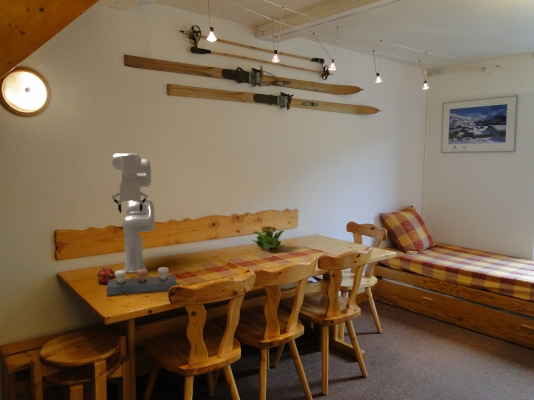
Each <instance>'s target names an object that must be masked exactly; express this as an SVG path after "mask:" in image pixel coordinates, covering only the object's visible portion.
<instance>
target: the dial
mask: <svg viewBox="0 0 534 400" xmlns="http://www.w3.org/2000/svg"><path fill="white" fill-rule="evenodd" d="M148 273H149V272H148V269H147V268H146V269H138V270H137V272H136V276H138V278H139V282H146V277H147V276H146V275H148Z"/></svg>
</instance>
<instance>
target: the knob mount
mask: <svg viewBox="0 0 534 400" xmlns="http://www.w3.org/2000/svg"><path fill="white" fill-rule="evenodd" d="M175 285H177V277H176V274H171V275H170V274H169V275H166V280H164V281H160V275H159V276H158V275H157V276H146V282H139V277H133V278H132V277H131V278H124V284H118V278H115V279H113V280H109V281H108V284H107V285H106V297H108V296H119V295H131V294H141V293H142V294H144V293H145V294H146V293H154V292H157V293H158V292H167V291H169V292H170V290H169V289H170V288H171V287H172V286H175Z"/></svg>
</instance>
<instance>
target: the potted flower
mask: <svg viewBox="0 0 534 400" xmlns="http://www.w3.org/2000/svg"><path fill="white" fill-rule="evenodd" d="M260 228H261V232H258V231H257V230H255V231H252V233H253V234H256V235H257V236H256V239H257V240H254V239H252V242H253V243H255V244H256V245H257V247H259V248H261V249H263V251H264V252H270V253H272V252H276V251H278V249H280V248H281V249H282V248H285V247H287V245H286V244H285V245H284V244H283V245H282V244H281V243H282V241H280V239H279V238H280V237H281V236H282V234H283V233H284V232H285V230H279V231H278V232H276V231H277V230H278V229H277V227H275V226H271V225H269V226H267V225H263V226H261V227H260ZM274 232H275V233H274Z"/></svg>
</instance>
